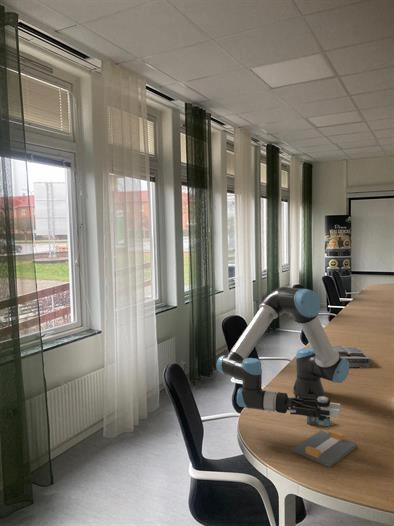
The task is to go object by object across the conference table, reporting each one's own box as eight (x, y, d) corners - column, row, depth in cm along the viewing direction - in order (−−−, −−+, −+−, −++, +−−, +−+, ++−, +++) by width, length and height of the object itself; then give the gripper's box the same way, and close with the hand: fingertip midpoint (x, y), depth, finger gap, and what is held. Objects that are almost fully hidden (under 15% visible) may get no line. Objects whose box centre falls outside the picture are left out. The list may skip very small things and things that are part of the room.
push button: (335, 423, 152) (335, 397, 152) (332, 429, 148) (332, 402, 147) (317, 419, 155) (317, 394, 155) (314, 425, 151) (313, 399, 150)
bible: (322, 357, 269) (322, 342, 269) (365, 359, 263) (365, 344, 262) (323, 368, 247) (323, 352, 246) (371, 370, 240) (371, 354, 239)
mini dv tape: (323, 420, 176) (322, 407, 176) (325, 421, 175) (325, 408, 174) (307, 423, 173) (306, 410, 173) (309, 425, 172) (309, 411, 172)
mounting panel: (321, 433, 164) (321, 425, 164) (356, 446, 153) (357, 438, 153) (292, 451, 151) (292, 443, 151) (329, 467, 140) (329, 458, 140)
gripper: (280, 402, 166) (341, 411, 158) (271, 421, 150) (338, 431, 141) (280, 384, 166) (341, 392, 157) (271, 401, 150) (338, 410, 141)
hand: (339, 410), depth 149 cm, fingers closed on push button, 5 cm apart
